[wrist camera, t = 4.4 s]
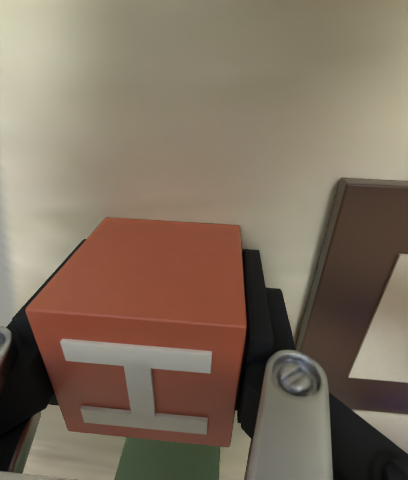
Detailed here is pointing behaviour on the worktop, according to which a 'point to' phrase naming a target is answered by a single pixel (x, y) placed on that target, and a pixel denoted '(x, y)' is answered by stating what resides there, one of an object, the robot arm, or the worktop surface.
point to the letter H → (147, 331)
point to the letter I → (167, 461)
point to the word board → (364, 304)
